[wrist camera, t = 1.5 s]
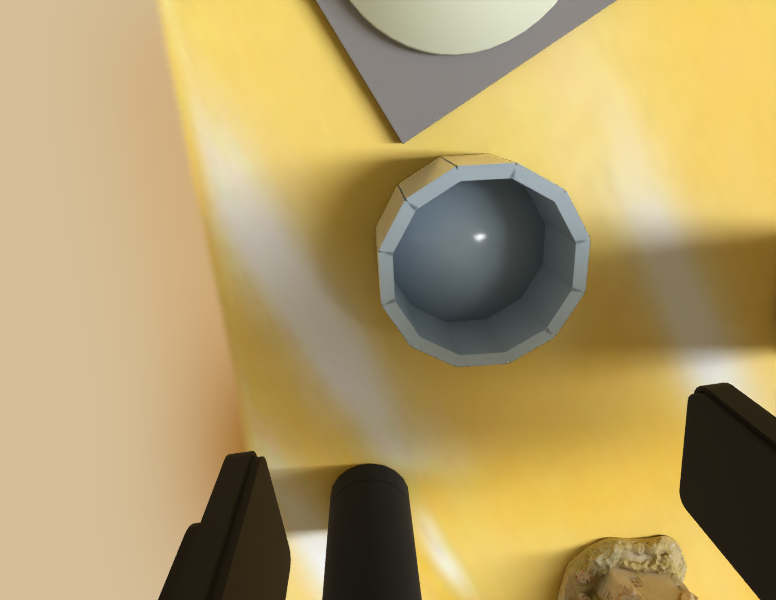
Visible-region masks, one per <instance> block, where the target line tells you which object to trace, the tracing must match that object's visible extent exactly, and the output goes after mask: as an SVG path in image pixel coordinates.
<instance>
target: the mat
mask: <svg viewBox="0 0 776 600" xmlns="http://www.w3.org/2000/svg"><path fill="white" fill-rule="evenodd" d="M615 1H616V0H558V1H557V2H556V3H555V5H554V6H553V7H552V8H551V9H550V10H549V11H548V12H547V13H546V14H545V15H544V16H543V17H542V18H541V19H540V20H538V21H537V22H536V23H535V24H533V25H532V26H531V27H530V28H528V29H527V30H526V31H524V32H522V33H521V34H519V35H517V36H516V37H514V38H512V39H511V40H509V41H507V42H505V43H502V44H500V45H498V46H495V47H493V48H490V49H488V50H484V51H480V52H476V53H473V54H465V55H456V56H454V55H436V54H430V53H424V52H420V51H417V50H414V49H411V48H408V47H406V46H404V45H402V44H400V43H398V42H396V41H394V40H391V39H390V38H389V37H387V36H386V35H384V34H383V33H381V32H380V31H378V30H377V29H376V28H375V27H373V26H372V25H371V24H370V23H369V22H368V21H367V20H366V19H364V18H363V17H362V15H361V14H360V13H359V12H358V11H357V10H356V8H355V7H354V6H353V5H352V4H351V3H350V1H349V0H316V2H317V4H318V5H319V7H320V9H321V10H322V12H323V14H324V15H325V17H326V18H327V20H328V22H329V23H330V25H331V27H332V28H333V30H334V32H335V33H336V35H337V37H338V38H339V40H340V42H341V43H342V45H343V47H344V48H345V50H346V51H347V53H348V55H349V56H350V58H351V60H352V61H353V63H354V65H355V66H356V68H357V70H358V71H359V73H360V75H361V76H362V78H363V80H364V81H365V83H366V84H367V86H368V88H369V89H370V91H371V93H372V94H373V96H374V98H375V99H376V101H377V103H378V104H379V106H380V108H381V109H382V111H383V113H384V114H385V116H386V117H387V119H388V121H389V122H390V124H391V126H392V127H393V129H394V131H395V132H396V134H397V136H398V137H399V139H400V141H401V142H402V144H404V143H405V142H407V141H408V140H410V139H411V138H413V137H414V136H416V135H417V134H419V133H420V132H422V131H423V130H425V129H426V128H428V127H429V126H431V125H432V124H433V123H435V122H436V121H438V120H439V119H441V118H442V117H444V116H445V115H447V114H448V113H450V112H451V111H453V110H454V109H456V108H457V107H459V106H460V105H462V104H463V103H465V102H466V101H468V100H469V99H471V98H472V97H474V96H475V95H477V94H478V93H480V92H481V91H483V90H484V89H485V88H487V87H488V86H490V85H491V84H493V83H494V82H496V81H497V80H499V79H500V78H502V77H503V76H505V75H506V74H508V73H509V72H511V71H512V70H514V69H515V68H517V67H518V66H520V65H521V64H523V63H524V62H526V61H527V60H529V59H530V58H532V57H533V56H535V55H536V54H538V53H539V52H540V51H542V50H543V49H545V48H546V47H548V46H549V45H551V44H552V43H554V42H555V41H557V40H558V39H560V38H561V37H563V36H564V35H566V34H567V33H569V32H570V31H572V30H573V29H575V28H576V27H578V26H579V25H581V24H582V23H584V22H585V21H587V20H588V19H590V18H591V17H592V16H594V15H595V14H597V13H598V12H600V11H601V10H603V9H604V8H606V7H607V6H609V5H610V4H612V3H613V2H615Z"/></svg>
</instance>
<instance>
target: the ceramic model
mask: <svg viewBox="0 0 776 600" xmlns="http://www.w3.org/2000/svg"><path fill="white" fill-rule="evenodd" d="M686 570H687V566H686V563H685V562H684V557H683V555H682V553H681V549H680V546H679V545H678V543H677V542H675V541H674V540H673V539H671V538H670V537H667V536H658V537H651V538H630V539H629V538H627V539H626V538H605V539H602V540H600V541H597V542H595V543H593V544H591V545H589V546H588V547H586V548H585V549H584V550H583V551H582V552H580V553H579V554H578V555H577V556H576V557H574V558H573V559H572V560H571V561H570V562H569V564H568V565H567V567H566V570H565V572H564V576H563V580H562V583H561V586H560V589H559V593H558V598H557V600H699V599H698V597H697V596H695V595H694V594H693V593H691V592H689V590H688V589H687V587H686V586H685V585H684V584H683V581H684V577H685V574H686Z"/></svg>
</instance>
